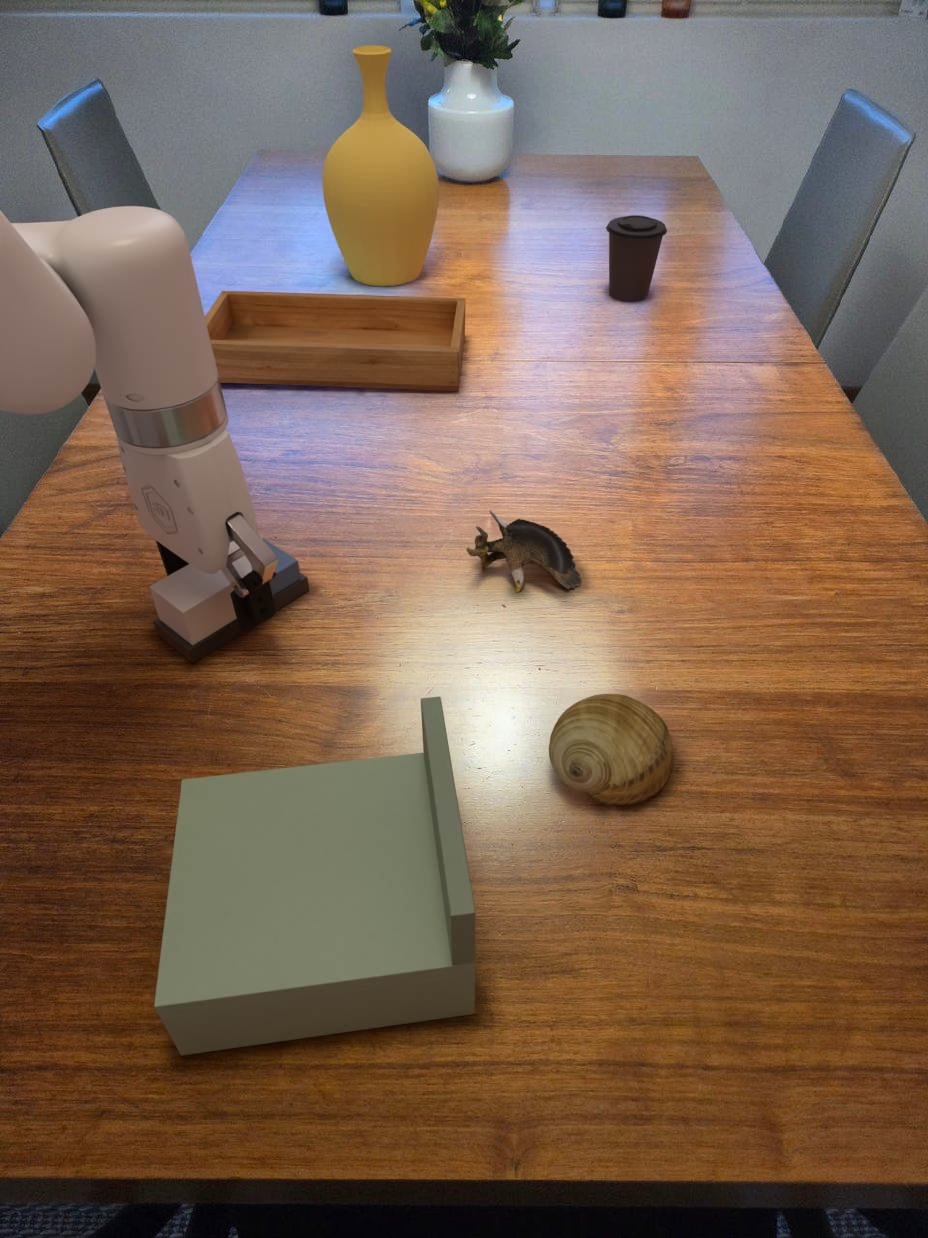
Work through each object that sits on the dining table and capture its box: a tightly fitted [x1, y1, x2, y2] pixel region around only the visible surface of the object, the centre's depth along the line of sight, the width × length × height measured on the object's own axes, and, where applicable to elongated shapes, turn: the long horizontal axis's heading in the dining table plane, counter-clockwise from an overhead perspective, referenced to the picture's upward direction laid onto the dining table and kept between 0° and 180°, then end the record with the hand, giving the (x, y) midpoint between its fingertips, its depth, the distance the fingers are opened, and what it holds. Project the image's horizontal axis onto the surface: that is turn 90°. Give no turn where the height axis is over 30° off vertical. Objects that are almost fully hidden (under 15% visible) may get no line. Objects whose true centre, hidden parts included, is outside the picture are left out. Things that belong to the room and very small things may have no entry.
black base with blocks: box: [148, 538, 310, 664], centre depth 72 cm, size 12×5×5 cm, turn 138°
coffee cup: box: [605, 214, 668, 303], centre depth 119 cm, size 8×8×10 cm
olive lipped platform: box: [153, 695, 477, 1056], centre depth 49 cm, size 16×14×11 cm
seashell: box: [548, 693, 674, 807], centre depth 60 cm, size 10×7×8 cm
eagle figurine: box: [465, 509, 582, 593], centre depth 75 cm, size 8×7×9 cm
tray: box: [204, 290, 466, 392], centre depth 106 cm, size 31×15×6 cm, turn 87°
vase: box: [321, 44, 440, 287], centre depth 119 cm, size 16×16×28 cm
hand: (221, 595), depth 71 cm, fingers open, 9 cm apart
